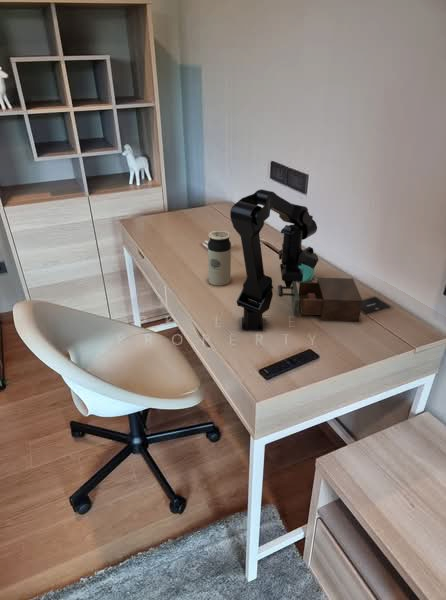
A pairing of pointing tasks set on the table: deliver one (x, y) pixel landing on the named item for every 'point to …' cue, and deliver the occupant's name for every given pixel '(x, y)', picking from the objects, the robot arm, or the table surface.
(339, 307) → the cabinet
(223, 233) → the travel mug
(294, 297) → the drawer
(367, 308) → the solid state drive
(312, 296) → the red usb flash drive
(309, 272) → the decorative dice
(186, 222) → the table surface
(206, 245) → the lettered band ring
